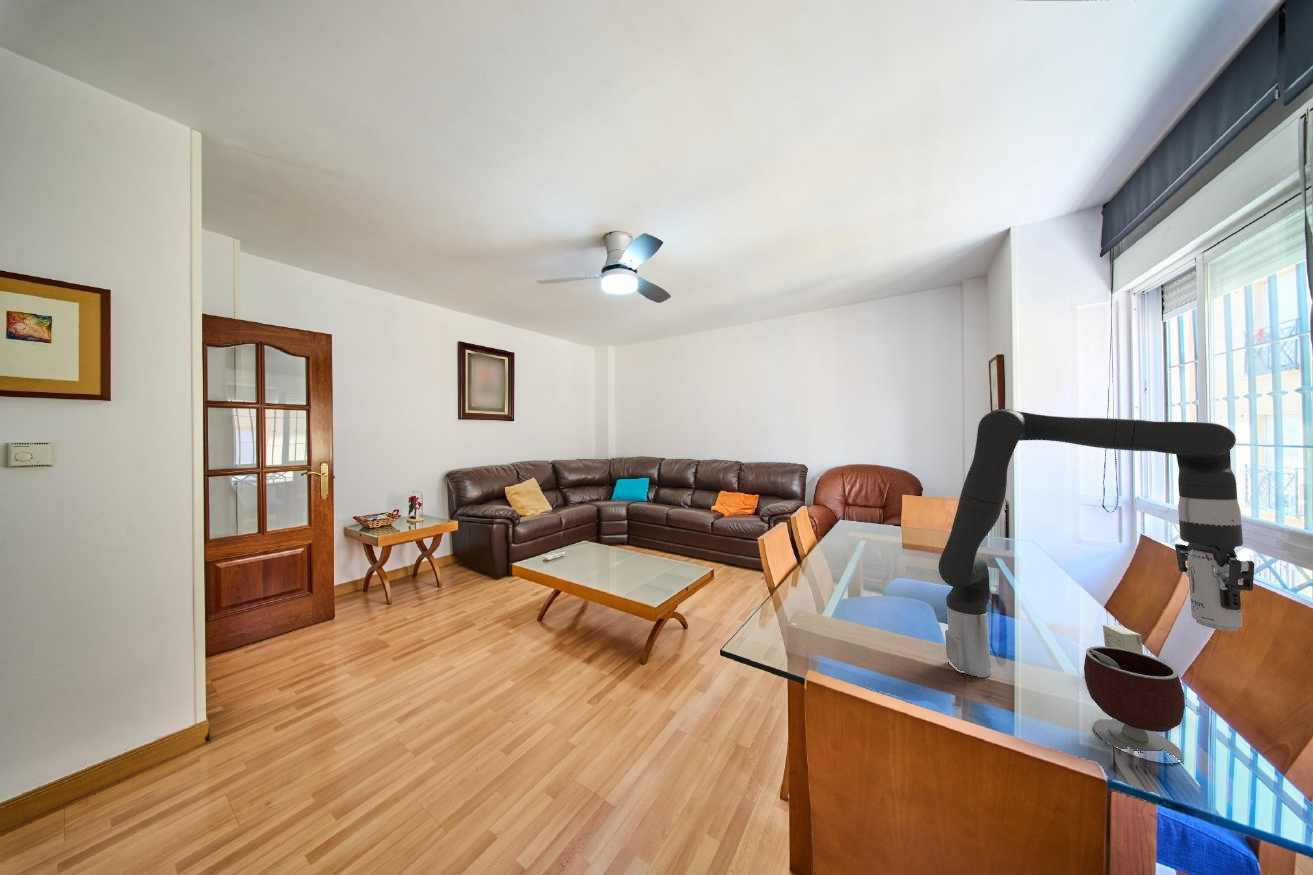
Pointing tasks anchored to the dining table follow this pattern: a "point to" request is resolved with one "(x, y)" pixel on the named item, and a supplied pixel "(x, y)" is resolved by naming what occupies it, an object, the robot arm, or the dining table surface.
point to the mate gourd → (1134, 698)
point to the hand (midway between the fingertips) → (1214, 602)
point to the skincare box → (1122, 638)
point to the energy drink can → (1209, 594)
